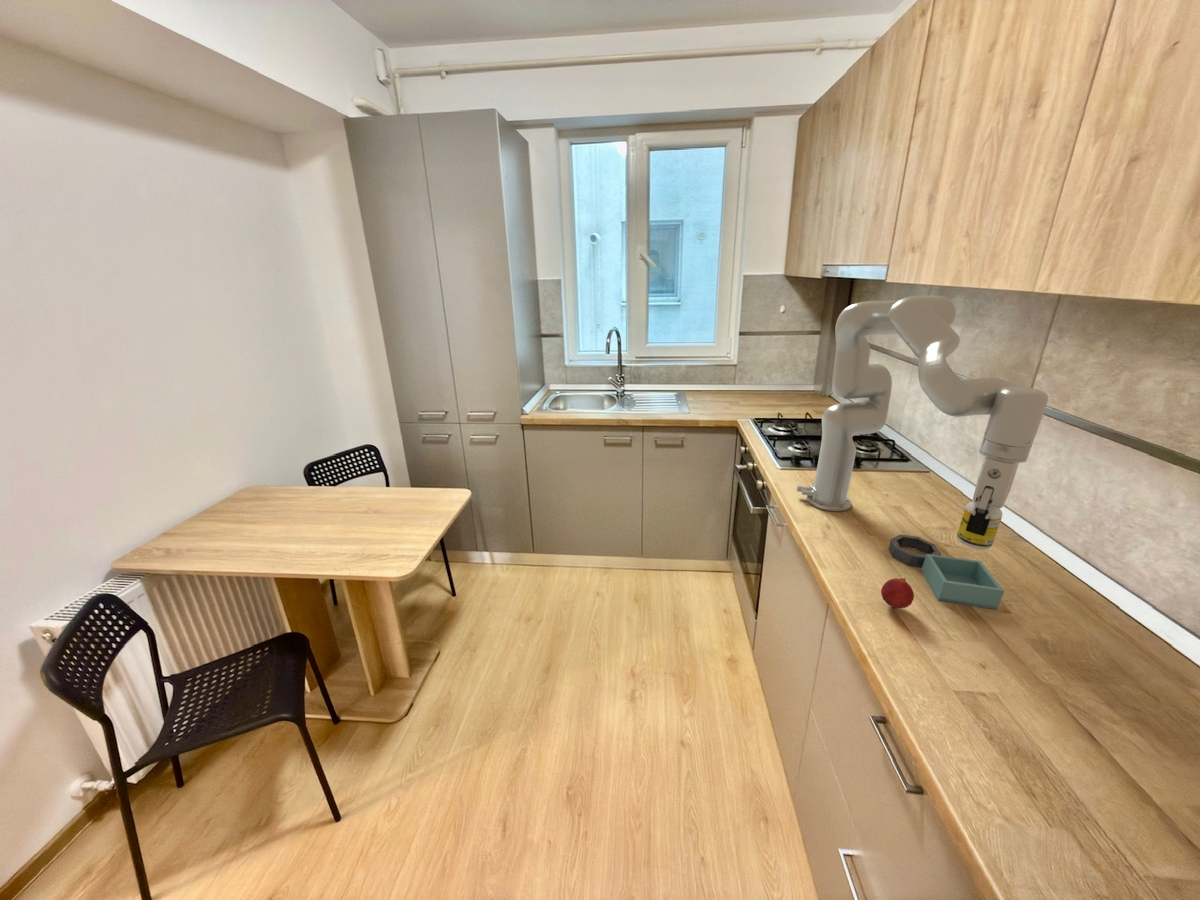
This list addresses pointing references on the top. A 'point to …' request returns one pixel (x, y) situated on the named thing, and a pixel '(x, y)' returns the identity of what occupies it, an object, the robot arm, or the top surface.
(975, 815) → the top surface
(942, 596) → the bin
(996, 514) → the pill bottle
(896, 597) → the onion
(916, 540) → the socket collar
